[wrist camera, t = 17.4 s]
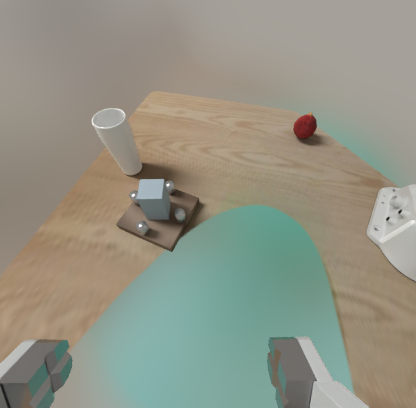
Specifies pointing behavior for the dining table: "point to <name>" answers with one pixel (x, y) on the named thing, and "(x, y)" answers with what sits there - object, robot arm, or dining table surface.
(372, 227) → the robot arm
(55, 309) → the dining table surface
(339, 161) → the dining table surface
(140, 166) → the drinking glass
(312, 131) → the onion
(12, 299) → the dining table surface
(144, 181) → the block
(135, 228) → the peg board
